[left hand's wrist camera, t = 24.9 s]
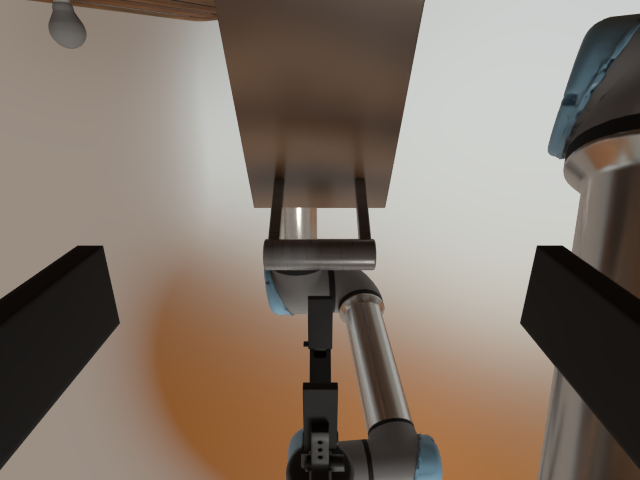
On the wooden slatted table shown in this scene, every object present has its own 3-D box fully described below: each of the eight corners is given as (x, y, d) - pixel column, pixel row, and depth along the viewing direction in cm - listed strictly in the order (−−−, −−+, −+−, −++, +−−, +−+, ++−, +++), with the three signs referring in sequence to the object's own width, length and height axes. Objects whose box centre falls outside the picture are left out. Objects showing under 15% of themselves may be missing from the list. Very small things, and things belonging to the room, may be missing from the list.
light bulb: (70, -16, 70) (82, 47, 74) (82, -9, 76) (93, 49, 80) (32, -17, 69) (47, 47, 73) (48, -10, 75) (61, 49, 79)
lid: (384, 200, 31) (396, 290, 26) (255, 200, 31) (243, 290, 26) (428, -40, 18) (467, 49, 14) (210, -39, 18) (171, 49, 14)
